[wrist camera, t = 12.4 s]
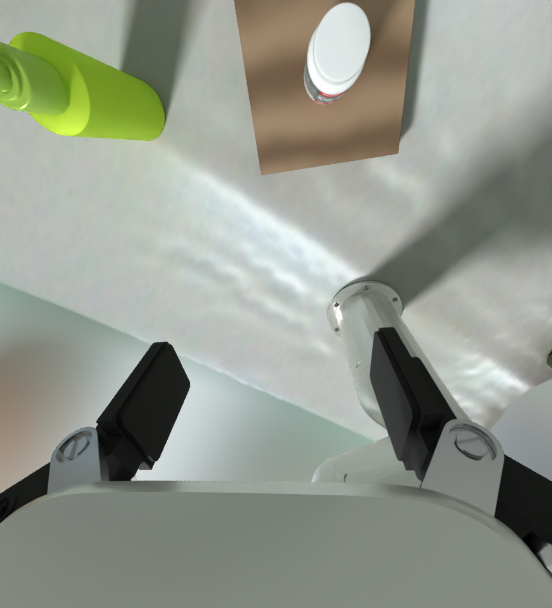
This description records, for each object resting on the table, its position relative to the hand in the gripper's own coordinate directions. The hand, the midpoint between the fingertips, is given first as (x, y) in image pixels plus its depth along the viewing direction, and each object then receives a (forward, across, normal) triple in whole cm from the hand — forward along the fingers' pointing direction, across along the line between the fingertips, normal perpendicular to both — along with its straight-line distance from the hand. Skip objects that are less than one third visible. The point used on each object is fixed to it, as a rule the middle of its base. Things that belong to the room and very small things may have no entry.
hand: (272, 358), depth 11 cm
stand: (+28, -6, -14) cm, 32 cm away
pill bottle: (+25, -6, -14) cm, 29 cm away
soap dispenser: (+28, +16, -15) cm, 36 cm away
